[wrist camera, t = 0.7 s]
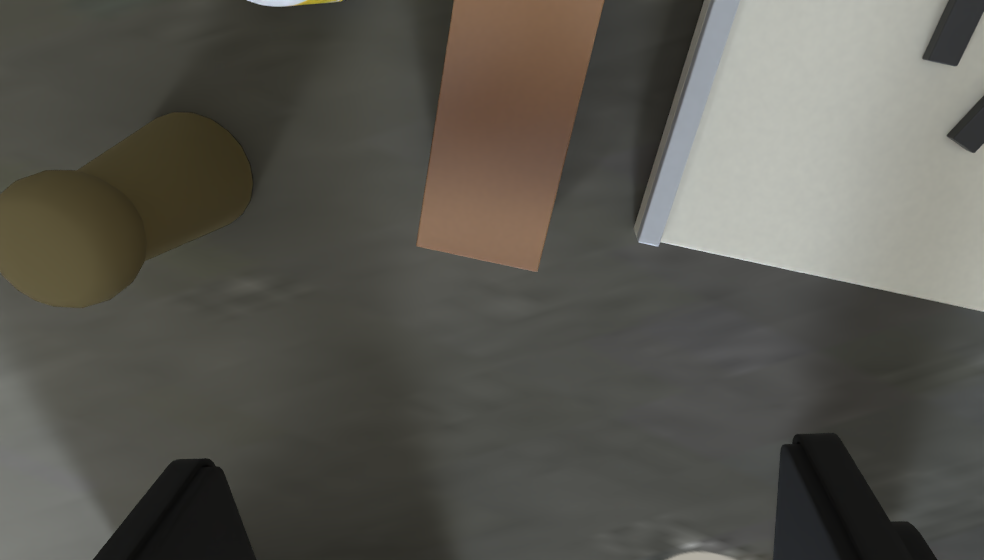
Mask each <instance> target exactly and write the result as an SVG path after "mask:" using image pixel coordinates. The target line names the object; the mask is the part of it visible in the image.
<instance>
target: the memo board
mask: <svg viewBox="0 0 984 560" xmlns="http://www.w3.org/2000/svg"><path fill="white" fill-rule="evenodd" d="M948 1H949V0H704V2H703V6H702V9H701V12H700V15H699V19H698V22H697V25H696V28H695V32H694V35H693V38H692V41H691V44H690V48H689V51H688V54H687V57H686V61H685V64H684V67H683V70H682V74H681V77H680V80H679V83H678V87H677V90H676V93H675V96H674V100H673V103H672V106H671V109H670V112H669V116H668V119H667V122H666V125H665V129H664V132H663V135H662V138H661V142H660V145H659V148H658V151H657V155H656V158H655V161H654V164H653V168H652V171H651V174H650V177H649V180H648V184H647V187H646V190H645V193H644V197H643V200H642V203H641V206H640V210H639V213H638V216H637V219H636V223H635V226H634V230H635V233H636V237H637V239H638V242H640V243H645V244H649V245H654V246H659V244H660V242H663V243H667V244H672V245H677V246H681V247H686V248H690V249H695V250H700V251H704V252H709V253H714V254H718V255H723V256H728V257H732V258H737V259H742V260H746V261H751V262H755V263H760V264H765V265H769V266H774V267H779V268H783V269H788V270H793V271H797V272H802V273H807V274H811V275H816V276H820V277H825V278H830V279H834V280H839V281H844V282H848V283H853V284H858V285H862V286H867V287H872V288H876V289H881V290H885V291H890V292H895V293H899V294H904V295H909V296H913V297H918V298H923V299H927V300H932V301H937V302H941V303H946V304H950V305H955V306H960V307H964V308H969V309H974V310H978V311H983V312H984V144H983V145H982V146H981V147H980V148H979V149H978V150H977V151H976V152H975V153H972V152H969V151H967V150H965V149H964V148H962V147H961V146H960V145H958V144H957V143H955V142H954V141H952V140H951V139H950V138H948V137H947V134H948V133H949V132H950V131H951V130H952V129H953V128H954V127H955V126H956V125H957V124H958V122H959V121H960V120H961V119H962V118H963V117H964V116H965V115H966V114H967V113H968V112H969V111H970V110H971V109H972V108H973V106H974V105H975V104H976V103H977V102H978V101H979V100H980V99H981V98H982V97H983V96H984V12H983V14H982V16H981V19H980V21H979V23H978V25H977V27H976V29H975V31H974V33H973V35H972V37H971V39H970V41H969V43H968V45H967V47H966V49H965V51H964V54H963V56H962V58H961V60H960V62H959V64H958V65H957V66H950V65H946V64H941V63H936V62H932V61H927V60H923V59H922V57H923V55H924V53H925V51H926V48H927V46H928V44H929V42H930V40H931V38H932V35H933V33H934V31H935V29H936V27H937V25H938V22H939V20H940V18H941V16H942V14H943V11H944V9H945V7H946V5H947V3H948Z"/></svg>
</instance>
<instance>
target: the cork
mask: <svg viewBox="0 0 984 560" xmlns="http://www.w3.org/2000/svg"><path fill="white" fill-rule="evenodd" d="M252 187H253V180H252V174H251V167H250V164H249V162H248V159H247V157H246V155H245V153H244V151H243V149H242V147H241V146H240V144H239V143H238V142H237V141H236V140H235V139H234V137H233V136H232V135H231V134H230V133H229V132H228V131H227V130H226V129H224V128H223V127H222V126H220V125H219V124H217V123H216V122H214V121H213V120H211V119H209V118H206V117H203V116H200V115H197V114H194V113H186V112H172V113H170V114H167V115H164V116H161V117H158V118H156V119H154V120H153V121H151V122H150V123H148V124H147V125H145V126H144V127H142V128H141V129H139V130H138V131H136V132H135V133H133V134H132V135H130V136H129V137H127V138H126V139H124V140H123V141H121V142H119V143H118V144H116V145H115V146H113V147H112V148H110V149H109V150H107V151H106V152H104V153H103V154H101V155H100V156H98V157H97V158H95V159H94V160H92V161H91V162H89V163H87V164H86V165H84V166H83V167H81V168H80V169H78V170H45V171H43V172H40V173H37V174H34V175H31V176H28V177H25V178H22V179H20V180H17V181H15V182H14V183H13V184H11V185H10V186H9V187H8V188H7V189H6V190H5V191H3V192H2V193H1V194H0V272H1V274H2V275H3V277H4V278H6V279H7V280H8V281H9V282H10V283H11V284H12V285H13V286H14V287H15V288H16V289H17V290H18V291H20V292H22V293H23V294H25V295H27V296H28V297H30V298H32V299H33V300H35V301H38V302H41V303H44V304H47V305H50V306H55V307H71V308H84V307H87V306H91V305H94V304H98V303H101V302H104V301H107V300H110V299H112V298H113V297H114V296H116V295H117V294H118V293H120V292H121V291H122V290H123V289H125V288H126V287H127V286H128V285H130V284H131V283H132V282H133V281H134V279H135V278H136V276H137V274H138V273H139V271H140V269H141V267H142V265H143V263H144V261H146V260H149V259H151V258H153V257H155V256H158V255H160V254H162V253H165V252H167V251H169V250H171V249H174V248H176V247H178V246H181V245H183V244H185V243H187V242H190V241H192V240H194V239H197V238H199V237H201V236H203V235H206V234H208V233H210V232H213V231H215V230H217V229H220V228H222V227H224V226H226V225H229V224H230V223H232V222H233V221H234V220H236V219H237V218H238V217H239V216H241V215H242V214H243V212H244V210H245V209H246V207H247V205H248V203H249V202H250V199H251V193H252Z"/></svg>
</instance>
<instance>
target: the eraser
mask: <svg viewBox="0 0 984 560" xmlns="http://www.w3.org/2000/svg"><path fill="white" fill-rule="evenodd" d="M603 4H604V0H454V2H453V9H452V15H451V22H450V28H449V35H448V41H447V48H446V54H445V61H444V67H443V74H442V80H441V87H440V93H439V100H438V107H437V113H436V120H435V126H434V133H433V139H432V146H431V152H430V159H429V165H428V172H427V178H426V185H425V191H424V198H423V204H422V211H421V217H420V224H419V230H418V237H417V243H416V246H419V247H423V248H428V249H433V250H437V251H442V252H447V253H451V254H456V255H460V256H465V257H470V258H474V259H479V260H484V261H488V262H493V263H498V264H502V265H507V266H511V267H516V268H521V269H525V270H530V271H535V272H537V271H538V267H539V263H540V259H541V255H542V251H543V247H544V243H545V239H546V235H547V231H548V227H549V223H550V219H551V214H552V210H553V206H554V202H555V198H556V194H557V190H558V186H559V182H560V178H561V174H562V170H563V166H564V162H565V158H566V154H567V150H568V146H569V142H570V138H571V133H572V129H573V125H574V121H575V117H576V113H577V109H578V105H579V101H580V97H581V93H582V89H583V85H584V81H585V77H586V73H587V69H588V65H589V61H590V57H591V52H592V48H593V44H594V40H595V36H596V32H597V28H598V24H599V20H600V16H601V12H602V8H603Z"/></svg>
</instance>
